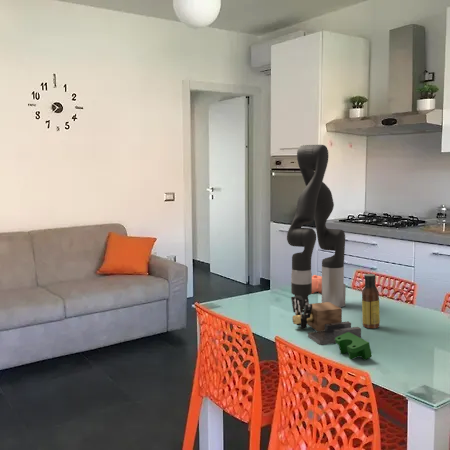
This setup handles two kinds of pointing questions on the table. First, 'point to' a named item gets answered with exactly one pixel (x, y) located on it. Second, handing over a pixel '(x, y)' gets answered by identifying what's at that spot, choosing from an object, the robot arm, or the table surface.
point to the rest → (333, 332)
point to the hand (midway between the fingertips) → (301, 326)
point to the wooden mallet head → (325, 315)
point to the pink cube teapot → (316, 284)
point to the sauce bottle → (370, 303)
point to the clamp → (353, 346)
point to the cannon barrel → (297, 319)
